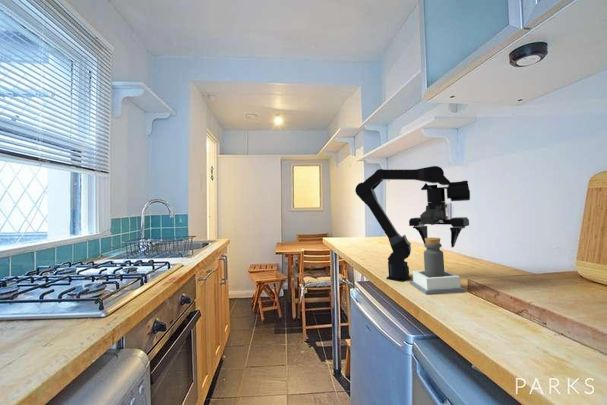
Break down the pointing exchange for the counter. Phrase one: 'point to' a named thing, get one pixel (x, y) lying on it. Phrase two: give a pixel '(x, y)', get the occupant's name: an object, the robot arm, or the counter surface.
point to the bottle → (433, 258)
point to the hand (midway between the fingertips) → (438, 246)
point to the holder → (436, 283)
